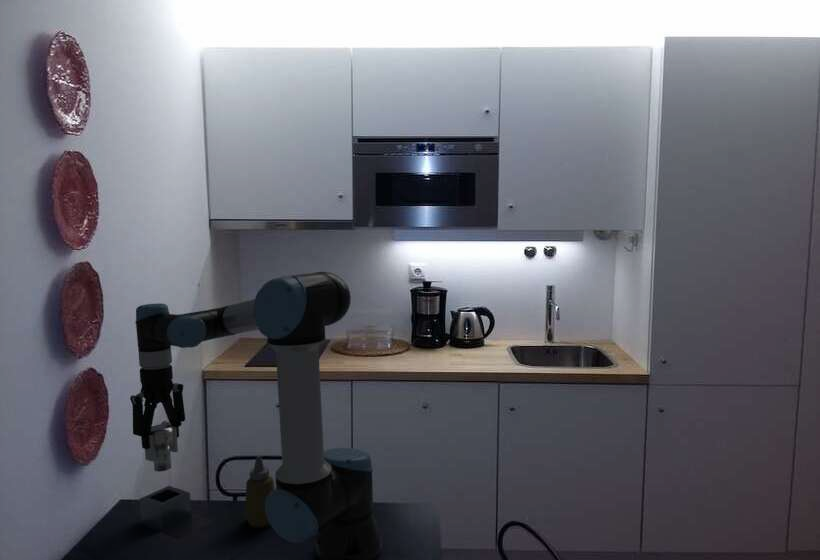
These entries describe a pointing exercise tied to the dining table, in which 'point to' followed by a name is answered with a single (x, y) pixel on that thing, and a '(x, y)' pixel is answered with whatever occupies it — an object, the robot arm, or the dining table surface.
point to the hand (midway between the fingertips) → (162, 455)
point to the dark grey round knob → (162, 446)
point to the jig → (170, 512)
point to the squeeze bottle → (258, 494)
